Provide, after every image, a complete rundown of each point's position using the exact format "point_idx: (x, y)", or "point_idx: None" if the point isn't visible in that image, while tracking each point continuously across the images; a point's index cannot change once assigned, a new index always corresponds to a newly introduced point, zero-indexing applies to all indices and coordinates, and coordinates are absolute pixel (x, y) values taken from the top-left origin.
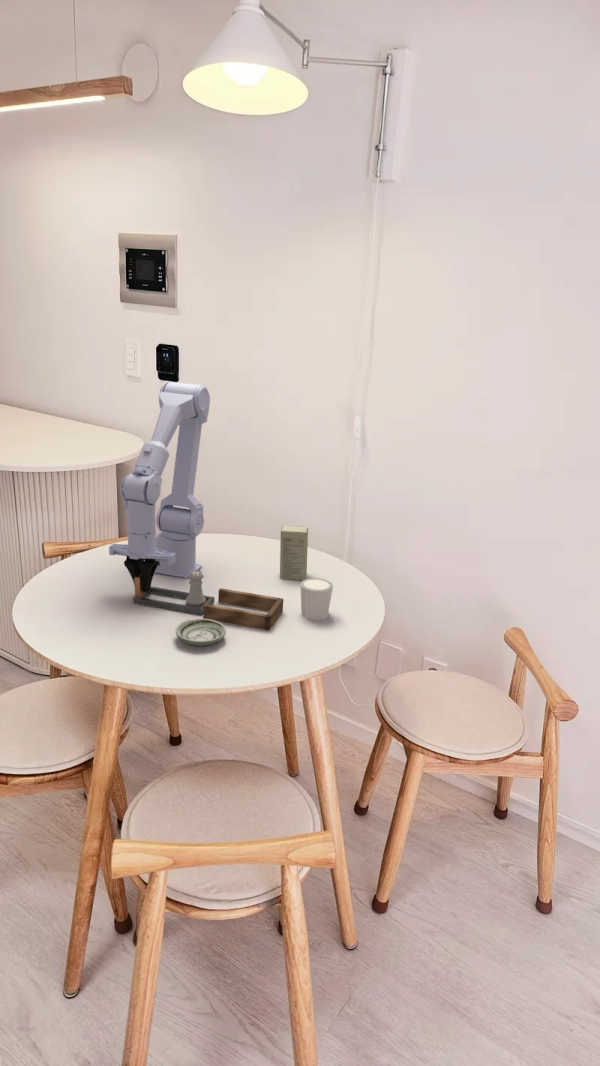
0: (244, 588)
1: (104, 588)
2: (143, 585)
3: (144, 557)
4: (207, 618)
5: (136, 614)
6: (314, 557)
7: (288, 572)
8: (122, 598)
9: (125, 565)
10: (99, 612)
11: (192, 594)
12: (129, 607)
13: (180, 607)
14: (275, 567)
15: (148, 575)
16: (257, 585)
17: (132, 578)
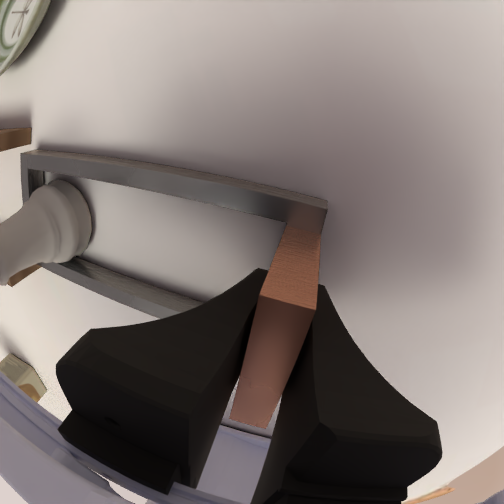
0: (44, 337)
1: (468, 340)
2: (258, 284)
3: (53, 479)
4: (20, 128)
5: (267, 68)
6: None
7: (16, 370)
8: (394, 256)
9: (423, 418)
10: (464, 80)
11: (23, 212)
12: (334, 147)
13: (77, 157)
14: (65, 408)
15: (175, 318)
16: (38, 347)
17: (344, 330)
